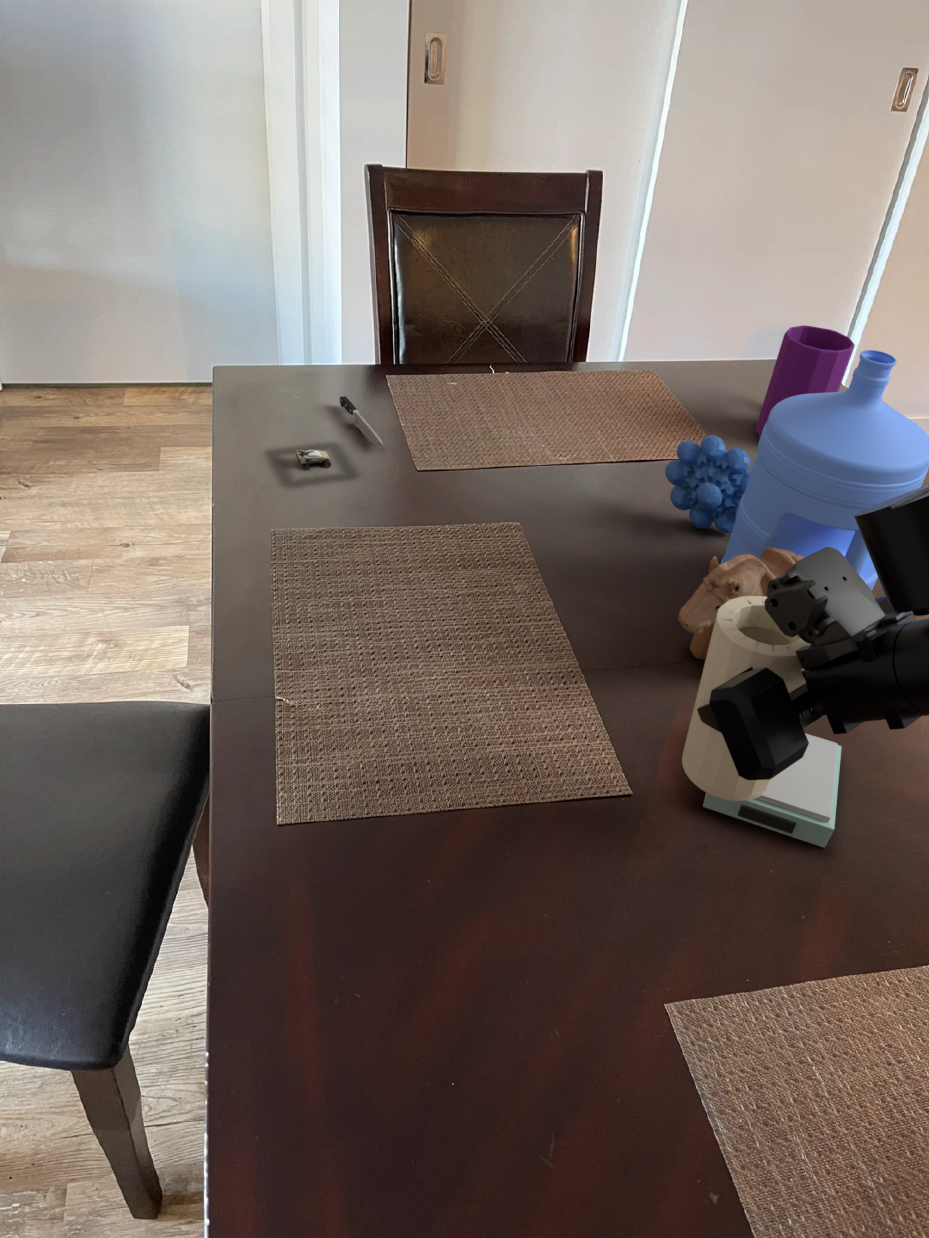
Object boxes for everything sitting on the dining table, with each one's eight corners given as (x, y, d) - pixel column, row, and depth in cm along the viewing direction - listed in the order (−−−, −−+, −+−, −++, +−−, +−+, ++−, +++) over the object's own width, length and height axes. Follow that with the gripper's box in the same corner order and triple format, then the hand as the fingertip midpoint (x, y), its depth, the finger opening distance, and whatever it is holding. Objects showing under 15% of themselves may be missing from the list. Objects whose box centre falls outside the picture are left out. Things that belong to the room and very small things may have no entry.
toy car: (331, 467, 115) (331, 453, 114) (299, 471, 114) (299, 457, 112) (325, 457, 117) (325, 443, 115) (294, 461, 115) (293, 447, 114)
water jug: (687, 569, 103) (757, 329, 86) (800, 550, 108) (887, 319, 91) (768, 657, 92) (867, 402, 74) (889, 632, 97) (1009, 386, 79)
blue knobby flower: (645, 532, 109) (667, 442, 101) (658, 505, 114) (680, 418, 106) (743, 559, 106) (772, 468, 98) (751, 530, 111) (780, 442, 103)
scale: (824, 850, 73) (836, 827, 72) (701, 808, 76) (710, 785, 74) (832, 764, 81) (844, 741, 79) (721, 729, 83) (729, 705, 82)
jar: (788, 766, 71) (837, 624, 63) (745, 815, 67) (792, 669, 59) (710, 724, 75) (746, 584, 67) (664, 768, 71) (698, 624, 63)
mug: (753, 446, 128) (785, 344, 119) (755, 401, 140) (784, 305, 131) (820, 459, 127) (857, 356, 117) (816, 413, 139) (850, 316, 129)
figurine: (636, 669, 89) (669, 543, 80) (761, 619, 97) (805, 498, 88) (687, 717, 84) (729, 588, 75) (814, 660, 92) (866, 537, 83)
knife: (385, 455, 118) (386, 441, 117) (380, 456, 118) (380, 442, 117) (344, 407, 128) (344, 394, 127) (339, 408, 128) (339, 394, 127)
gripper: (954, 501, 59) (770, 558, 73) (778, 592, 50) (604, 638, 63) (1017, 659, 59) (822, 687, 73) (853, 780, 50) (664, 786, 63)
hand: (733, 695), depth 68 cm, fingers closed on jar, 7 cm apart
